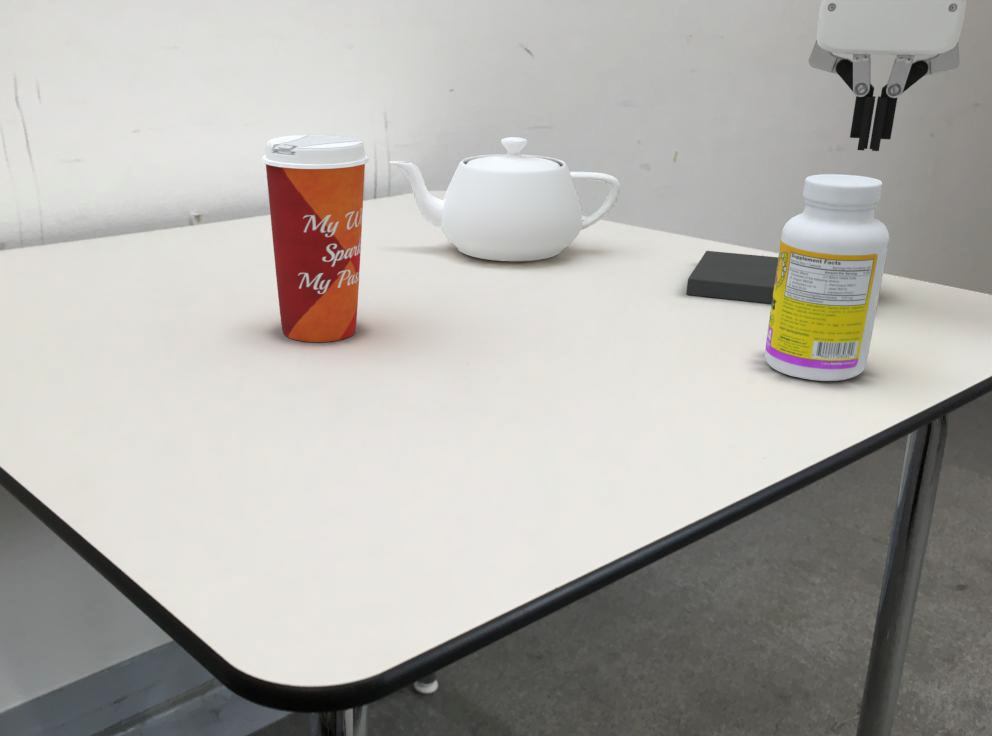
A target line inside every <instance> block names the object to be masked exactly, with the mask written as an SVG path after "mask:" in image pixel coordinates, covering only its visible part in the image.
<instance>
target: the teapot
mask: <svg viewBox="0 0 992 736" xmlns="http://www.w3.org/2000/svg"><path fill="white" fill-rule="evenodd" d="M500 143H501V145H502V146H503V147H504V149H506V153H498V154H496V153H493V154H481V155H474V156H470V157H469V156H468V157H466V158H463V159H462V160H461V161H459V163H458V165H457V167H456V170H455V172H453V173H454V174H453V176H452V177H451V180H450V182H449V184H448V186H447V188H446V191H445V194H444V196H443V199H441V198H438V197H436V196H433V195H432V194H431V192H430V191H429V189H428V187H427V185H426V182H425V180H424V179H425V178H424V176H423V174H422V171H421V170H420V168H419V167H418V166H417V165H416V164H415V163H414V162H410V161H402V160H401V161H400V160H391V161H388V163H389V164H391V165H393V166H395V167H396V168H398V169H399V170H400V171H402V172H403V173H404V174H405V176H406V177H407V180H408V181H409V184H410V186H411V189H412V193H413V197H414V200H415V203H416V206H417V208H418V211H419V212H420V214H421V215H422V217H423V218H424V219H425V221H427V222H429V223H430V224H431V225H433V226H434V227H437V228H440V229H441V231H442V233H443V235H444V236H445V238H446V239H447V240H448V242H450V243H451V244H452V245H453V246H455V247H456V249H457V250H458V251H459V252H460V253H462V254H464V255H467V256H469V257H473V258H477V259H482V260H489V261H495V262H497V261H498V262H531V261H532V262H533V261H540V260H546V259H550V258H553V257H556V256H558V255H559V254H561V253H562V252H563V250H564V249H566V248H567V247H569V246H570V245H571V244H572V243H573V242H574V241H576V238H577V237H578V236H579V235H580V232H581V231H584V230H585V229H587V228H589V227H591V226H592V225H595V224H597V222H599V221H600V220H601V219H604V217H606V216H607V215H608V214H609V213H610V212H611V211H612V209H613V208H615V206H616V204H617V202H618V200H619V197H620V194H621V183H620V181H619V179H618V178H617V177H615V176H613V175H611V174H608V173H603V172H596V171H595V172H592V171H570V169H569V166H568V164H567V163H566V162H564V160H561V159H558V158H555V157H551V156H543V155H536V154H535V155H534V154H521V151H522V150H523V149H524V147H526V146H527V144H528V139H526V138H524V137H518V136H509V137H504V138H502V139H501V140H500ZM574 181H575V182H576V181H577V182H578V181H579V182H581V181H582V182H584V181H585V182H597V183H598V182H599V183H604V184H607V186H608V193H607V195H606V198H605V199H604V201H603V203H602V204H601V205H600V206H599V207H598V209H596V210H595V211H594V212H593V213H592V214H590V215H589V216H587V217H585V218H583V213H582V206H581V202H580V197H579V194H578V190H577V187H576V185H575V182H574Z"/></svg>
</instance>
